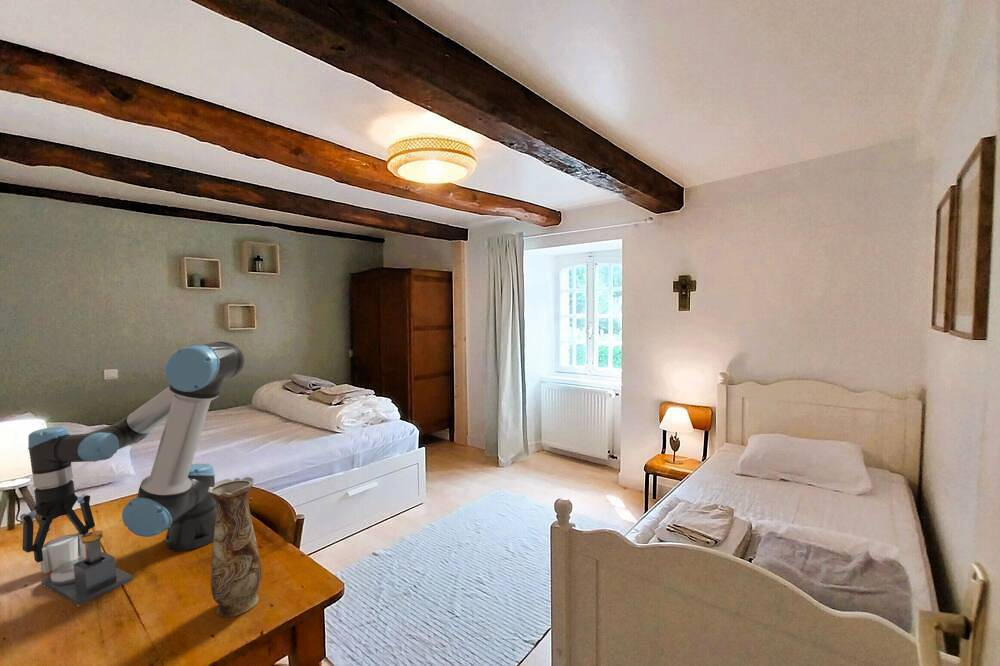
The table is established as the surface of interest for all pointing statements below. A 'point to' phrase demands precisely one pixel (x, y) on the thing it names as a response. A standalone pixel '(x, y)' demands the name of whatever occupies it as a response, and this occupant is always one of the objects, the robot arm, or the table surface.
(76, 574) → the slotted base stand
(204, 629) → the table surface
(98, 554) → the gold capped peg
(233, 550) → the vase
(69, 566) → the grey rounded flat piece
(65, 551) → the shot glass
